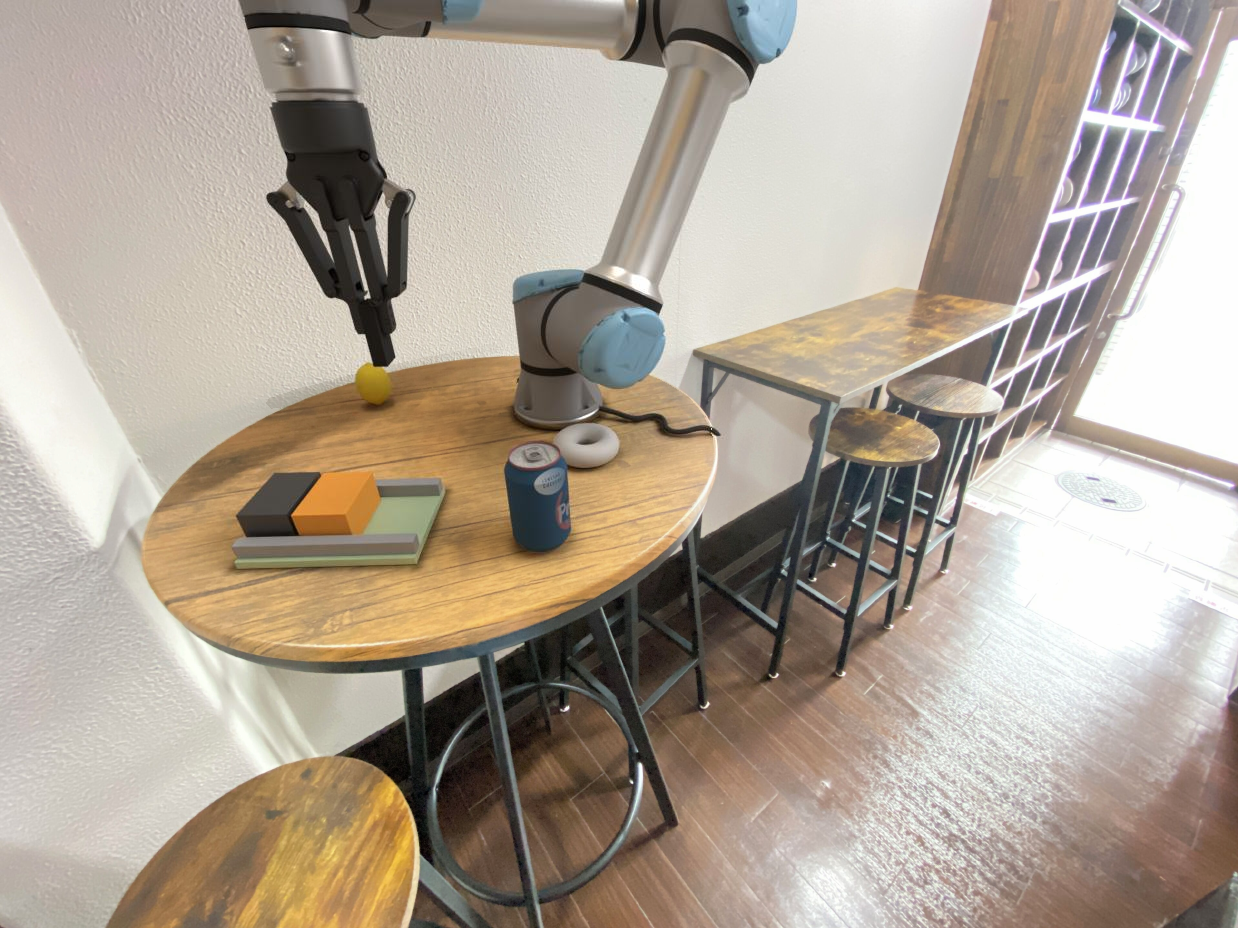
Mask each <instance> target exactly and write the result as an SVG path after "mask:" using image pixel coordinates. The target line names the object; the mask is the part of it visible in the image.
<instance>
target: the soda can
mask: <svg viewBox="0 0 1238 928" xmlns="http://www.w3.org/2000/svg"><path fill="white" fill-rule="evenodd" d="M503 474H504V481H505V489H506V496H507V503H508V504H507V505H508V511H509V517H510V524H511V532H512V537H513V539H514V540H515V542H516V543H517V544H518V545H519V546H520V547H522V548H523V549H524V550H525V551H527V552H529V553H532V554H540V555H541V554H548V553H551V552H554V551H556V550H558V549H560V548H561V547H562V546H563V545H564V544H565V542H566V541H567V539H568V538H569V537H570V534H571V531H572V519H571V518H572V517H571V507H570V506H571V504H570V490H569V488H570V487H569V475H568V465H567V463H566V461H565V459H564V458H563V456H562V455H561V451H560V449H559V448H558V446H556V445H555V444H553V442H550V441H546V440H528V441H524V442H521V443H519V444H517V445H515V446H513V447H512V448H511V449H510V450H509V451H508V453H507V460H506V462H505V464H504V467H503Z"/></svg>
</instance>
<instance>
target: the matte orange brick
mask: <svg viewBox="0 0 1238 928" xmlns="http://www.w3.org/2000/svg"><path fill="white" fill-rule="evenodd" d="M375 479H376V478H375V476H374V472H373V471H347V472H346V471H344V472H343V471H342V472H341V471H340V472H323V473H322V474H321V477H320V479H319V480H318V481H317V482H316V484H315V485H314V486H313V488H312V489H311V490H310V492H309V493H308V494H307V495H306V497H305V498H304V499H303V501H302V502H301V503H300V504H299V506H298V507H297V508H296V510H295V511H294V512H293V514H292V515H291V517H292V519H293V522H294V524H295V526H296V529H297V531H298V533H299V536H321V535H362V533H363V531H364V530H365V528H366V526H367V524H368V523H369V521H370V519H371V517H372V515H373V514H374V512H375V510H376V508H377V507H378V505H379V503H380V501H381V499H380V495H379V492H378V489H377V485H376V482H375Z"/></svg>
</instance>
